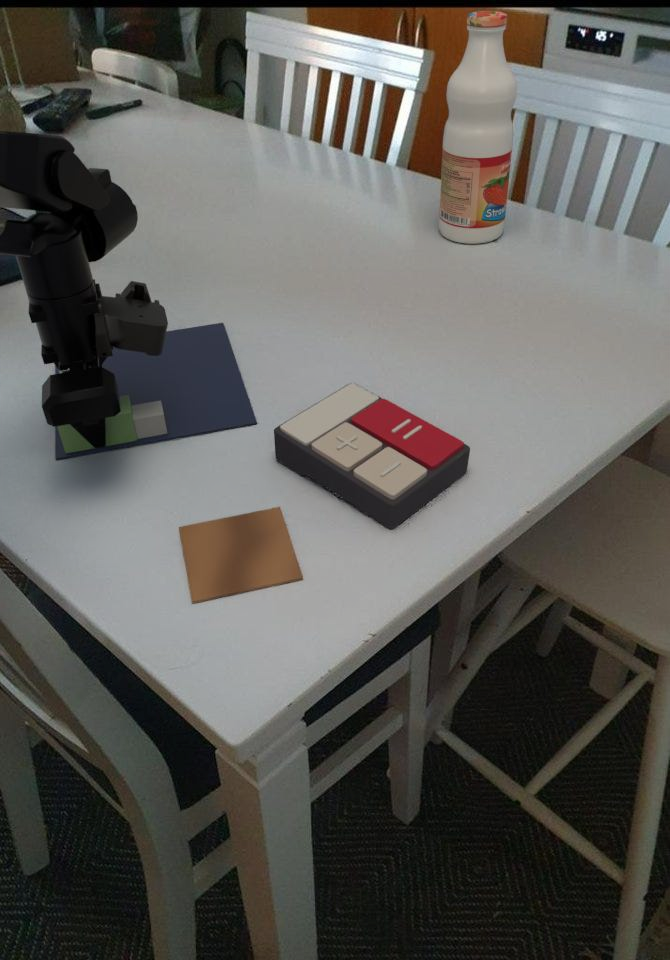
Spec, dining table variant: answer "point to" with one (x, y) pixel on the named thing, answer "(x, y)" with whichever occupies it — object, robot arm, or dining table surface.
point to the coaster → (238, 554)
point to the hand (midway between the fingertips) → (99, 430)
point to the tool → (121, 426)
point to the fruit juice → (478, 136)
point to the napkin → (181, 386)
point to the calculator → (371, 453)
